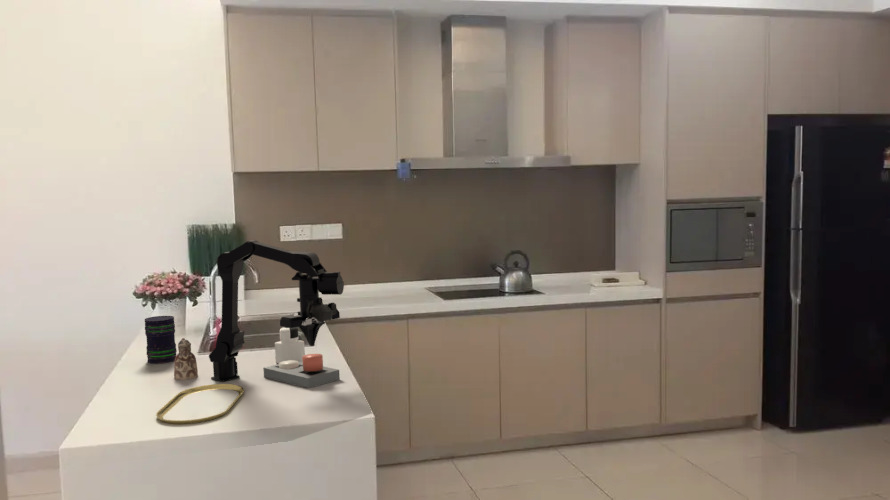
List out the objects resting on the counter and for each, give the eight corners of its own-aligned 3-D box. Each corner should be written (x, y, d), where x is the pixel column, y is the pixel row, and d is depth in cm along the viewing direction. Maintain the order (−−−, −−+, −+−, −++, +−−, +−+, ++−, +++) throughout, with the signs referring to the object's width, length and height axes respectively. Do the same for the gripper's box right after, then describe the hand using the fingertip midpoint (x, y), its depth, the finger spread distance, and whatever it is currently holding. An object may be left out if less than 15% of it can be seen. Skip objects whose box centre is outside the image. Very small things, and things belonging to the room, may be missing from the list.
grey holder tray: (308, 388, 228) (307, 378, 228) (264, 377, 243) (263, 367, 243) (339, 379, 237) (339, 369, 237) (295, 369, 252) (294, 360, 252)
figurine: (173, 380, 243) (170, 342, 242) (175, 375, 250) (172, 338, 248) (197, 378, 245) (195, 340, 244) (198, 372, 252) (195, 336, 250)
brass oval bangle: (146, 428, 197) (145, 421, 197) (187, 390, 232) (187, 385, 232) (220, 425, 198) (220, 419, 198) (250, 388, 233) (250, 382, 232)
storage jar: (167, 364, 265) (164, 320, 264) (141, 363, 267) (138, 320, 266) (182, 357, 275) (179, 315, 273) (157, 357, 277) (154, 315, 275)
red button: (311, 372, 231) (310, 359, 231) (298, 369, 235) (298, 356, 235) (327, 368, 236) (326, 355, 236) (314, 365, 240) (314, 352, 240)
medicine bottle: (291, 359, 266) (290, 324, 265) (305, 361, 262) (303, 326, 261) (275, 363, 261) (273, 328, 260) (289, 366, 256) (287, 330, 255)
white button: (287, 378, 240) (286, 365, 239) (275, 375, 244) (275, 363, 243) (303, 374, 244) (302, 362, 244) (291, 371, 248) (290, 359, 248)
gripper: (301, 301, 221) (304, 355, 223) (350, 292, 235) (352, 343, 237) (277, 298, 229) (280, 350, 230) (326, 289, 243) (329, 339, 244)
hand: (311, 345), depth 235 cm, fingers closed
